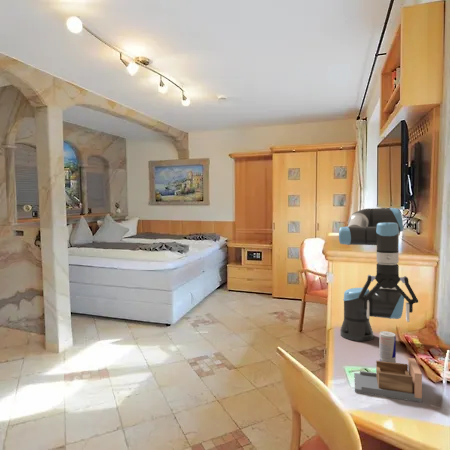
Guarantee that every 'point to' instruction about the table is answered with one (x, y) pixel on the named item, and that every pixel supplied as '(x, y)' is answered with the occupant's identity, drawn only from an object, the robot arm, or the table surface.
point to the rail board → (369, 385)
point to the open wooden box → (393, 376)
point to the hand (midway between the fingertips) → (387, 319)
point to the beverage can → (387, 347)
